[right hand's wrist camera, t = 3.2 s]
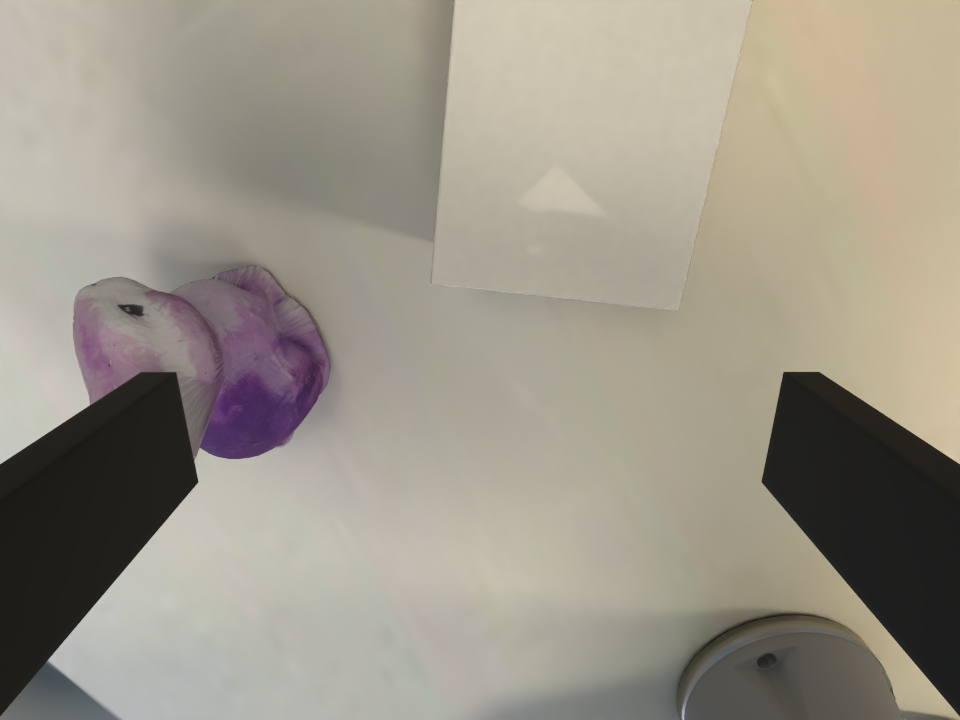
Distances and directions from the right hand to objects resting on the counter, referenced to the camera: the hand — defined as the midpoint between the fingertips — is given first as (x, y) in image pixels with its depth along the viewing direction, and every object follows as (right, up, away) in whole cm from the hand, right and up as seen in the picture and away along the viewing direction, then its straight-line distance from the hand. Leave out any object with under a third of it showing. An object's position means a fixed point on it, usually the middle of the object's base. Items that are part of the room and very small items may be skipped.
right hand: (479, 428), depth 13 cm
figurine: (-14, +3, +22) cm, 26 cm away
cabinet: (+4, +17, +17) cm, 24 cm away
